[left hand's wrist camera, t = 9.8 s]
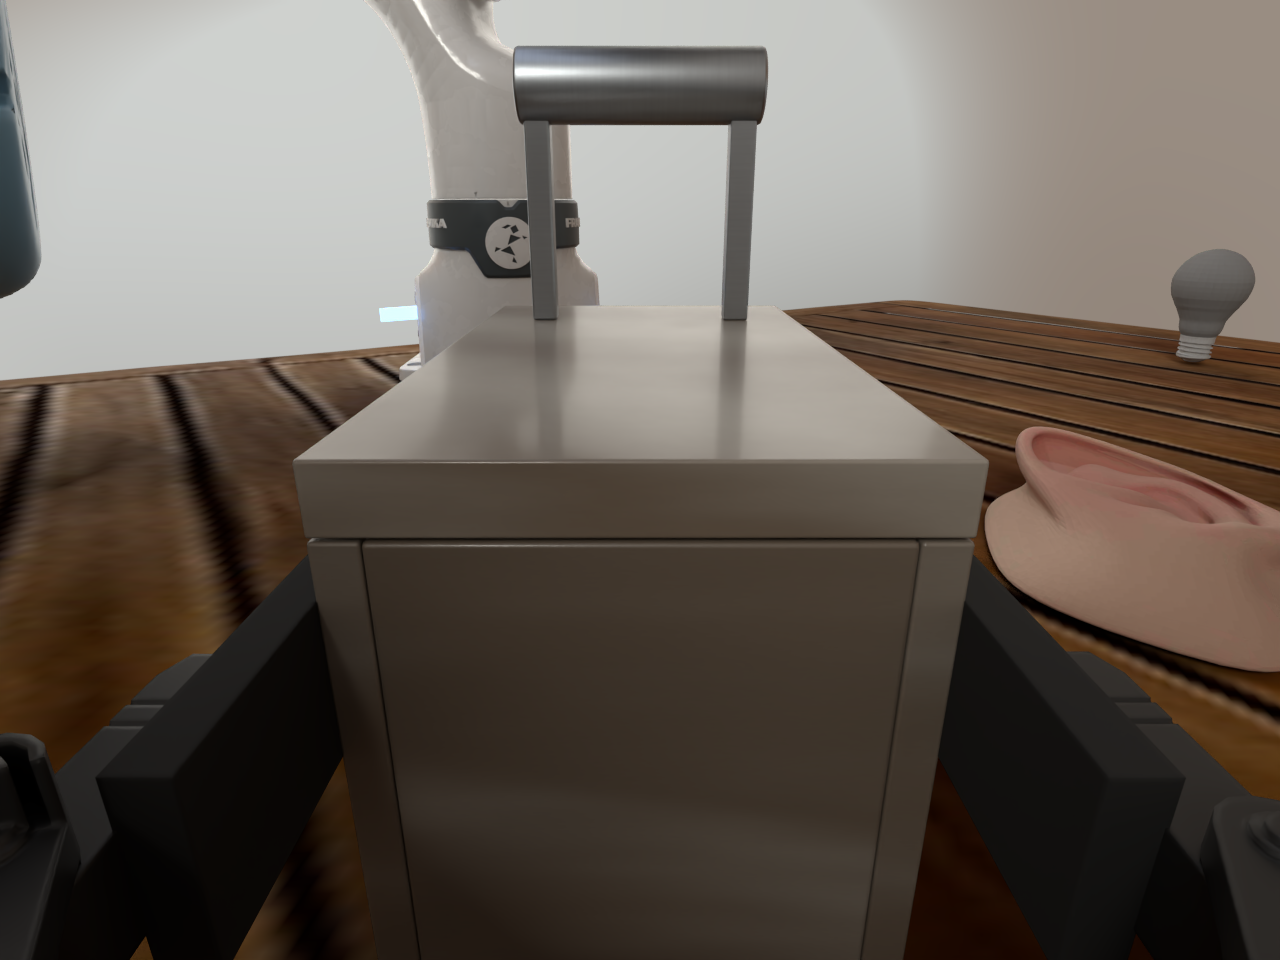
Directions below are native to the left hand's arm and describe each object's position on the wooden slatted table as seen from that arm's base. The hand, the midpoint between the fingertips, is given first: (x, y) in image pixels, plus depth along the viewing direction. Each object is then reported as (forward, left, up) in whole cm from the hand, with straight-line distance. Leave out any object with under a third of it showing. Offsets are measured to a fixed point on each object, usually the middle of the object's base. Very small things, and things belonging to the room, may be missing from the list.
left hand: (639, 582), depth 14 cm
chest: (-4, +3, -7) cm, 9 cm away
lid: (-4, +3, +2) cm, 6 cm away
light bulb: (-17, +74, -7) cm, 77 cm away
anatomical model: (0, +24, -7) cm, 25 cm away
